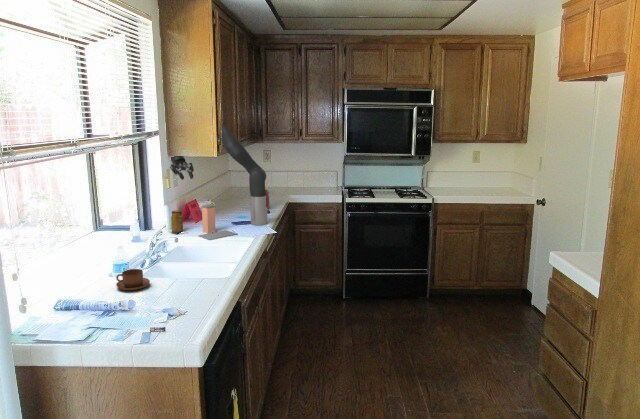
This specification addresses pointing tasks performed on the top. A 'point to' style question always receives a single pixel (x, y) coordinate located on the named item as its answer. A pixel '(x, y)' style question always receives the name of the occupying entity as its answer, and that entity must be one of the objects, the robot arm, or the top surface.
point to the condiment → (177, 222)
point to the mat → (217, 235)
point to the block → (208, 218)
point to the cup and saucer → (132, 280)
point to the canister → (267, 198)
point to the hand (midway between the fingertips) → (187, 178)
